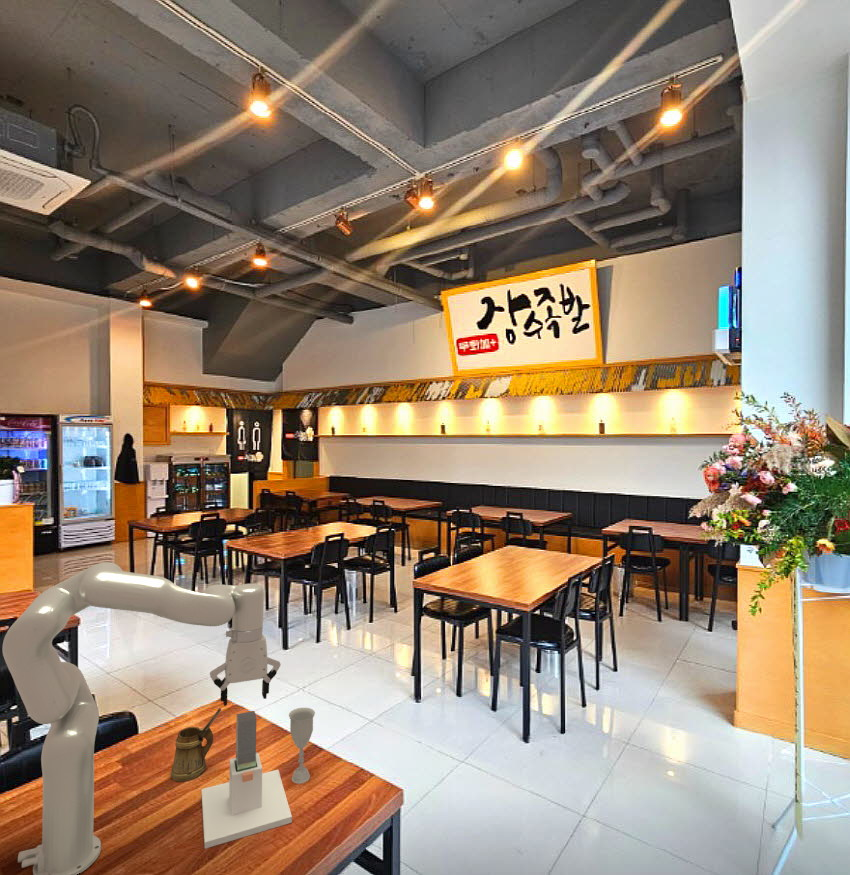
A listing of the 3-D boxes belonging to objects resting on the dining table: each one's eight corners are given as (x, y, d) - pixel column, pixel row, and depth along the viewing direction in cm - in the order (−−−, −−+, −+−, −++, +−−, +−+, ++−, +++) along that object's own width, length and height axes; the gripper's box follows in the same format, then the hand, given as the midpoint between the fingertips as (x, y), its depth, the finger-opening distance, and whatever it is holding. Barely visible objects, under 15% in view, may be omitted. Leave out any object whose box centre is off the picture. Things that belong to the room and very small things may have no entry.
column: (237, 786, 130) (238, 722, 130) (235, 775, 134) (236, 714, 134) (255, 781, 132) (256, 718, 132) (253, 771, 136) (254, 710, 136)
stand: (204, 848, 120) (205, 799, 120) (201, 794, 138) (202, 751, 138) (291, 822, 128) (292, 776, 128) (278, 774, 146) (278, 734, 146)
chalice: (317, 770, 148) (318, 708, 148) (309, 786, 142) (310, 721, 142) (292, 768, 149) (293, 706, 149) (283, 784, 142) (284, 719, 142)
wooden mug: (214, 781, 143) (215, 716, 143) (165, 782, 143) (166, 717, 143) (225, 761, 152) (226, 700, 152) (179, 761, 152) (180, 700, 152)
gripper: (211, 643, 126) (209, 713, 126) (284, 634, 134) (281, 700, 133) (210, 632, 133) (207, 699, 133) (279, 624, 140) (276, 687, 140)
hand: (244, 699), depth 133 cm, fingers open, 9 cm apart
